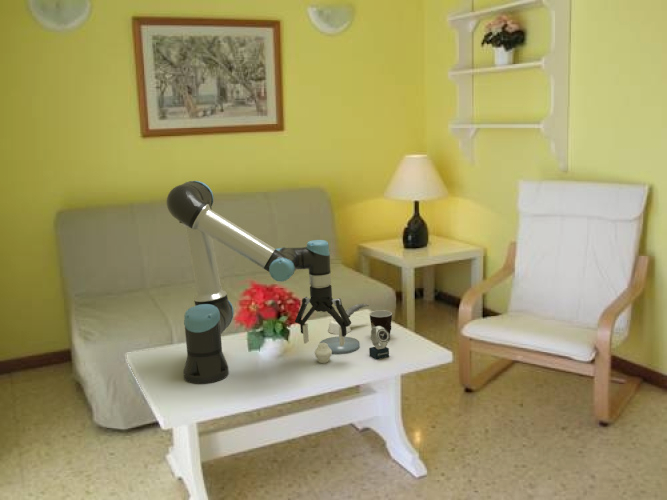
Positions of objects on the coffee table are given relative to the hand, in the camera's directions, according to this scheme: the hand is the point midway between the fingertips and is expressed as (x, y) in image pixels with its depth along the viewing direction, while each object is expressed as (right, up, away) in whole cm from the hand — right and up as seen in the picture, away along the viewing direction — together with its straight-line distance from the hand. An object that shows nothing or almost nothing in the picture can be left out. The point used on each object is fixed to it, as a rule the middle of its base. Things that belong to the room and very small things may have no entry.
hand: (324, 343), depth 244 cm
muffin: (0, -7, +2) cm, 7 cm away
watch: (+20, -5, +4) cm, 21 cm away
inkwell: (+10, +1, +36) cm, 37 cm away
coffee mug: (+22, -2, +21) cm, 30 cm away
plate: (+6, -3, +15) cm, 16 cm away
